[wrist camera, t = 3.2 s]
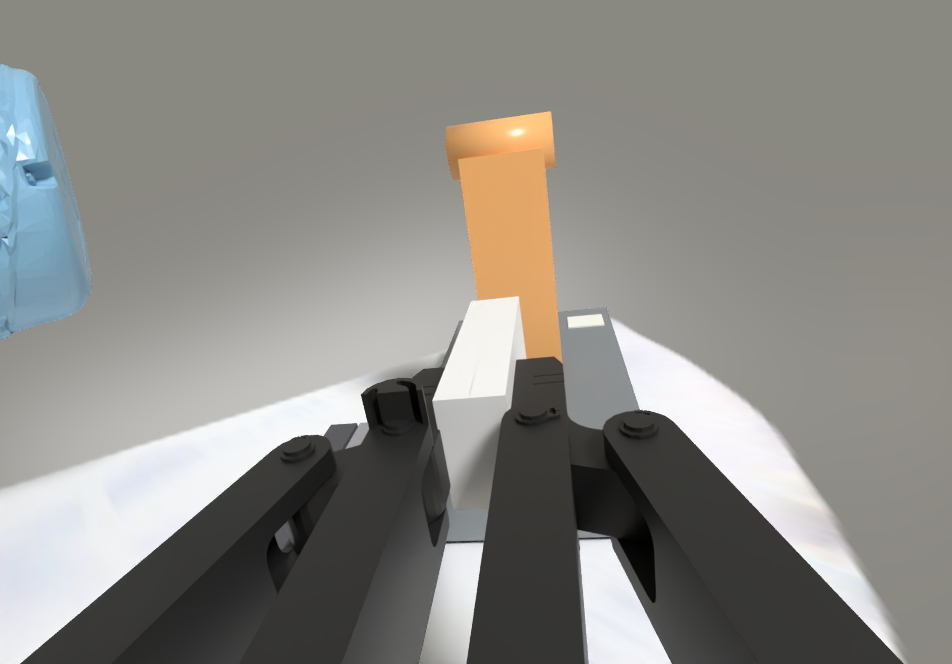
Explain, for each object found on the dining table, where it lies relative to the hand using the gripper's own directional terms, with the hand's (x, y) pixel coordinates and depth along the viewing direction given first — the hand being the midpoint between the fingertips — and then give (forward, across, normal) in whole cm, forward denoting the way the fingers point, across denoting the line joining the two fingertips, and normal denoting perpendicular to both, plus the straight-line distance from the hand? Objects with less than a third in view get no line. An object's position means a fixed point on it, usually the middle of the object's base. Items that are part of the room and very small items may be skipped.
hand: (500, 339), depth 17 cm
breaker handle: (+12, 0, -7) cm, 14 cm away
